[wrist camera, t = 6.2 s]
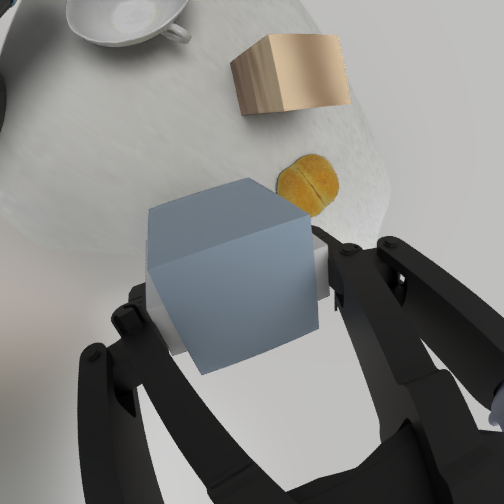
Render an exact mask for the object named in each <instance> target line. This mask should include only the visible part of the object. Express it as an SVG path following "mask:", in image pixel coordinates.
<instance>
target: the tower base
mask: <svg viewBox="0 0 504 504" xmlns="http://www.w3.org/2000/svg"><path fill="white" fill-rule="evenodd" d="M230 64H231V69H232V74H233V78H234V83H235V87H236V92H237V97H238V101H239V106H240V111H241V115H249V114H258V113H259V112H258V107H257V102H256V98H255V93H254V88H253V83H252V79H251V74H250V69H249V65H248V60H247V56H246V51H245V52H243V53H242V54H241V55H239V56H238V57H237V58H236V59H234V60H233V61H232V62H231V63H230Z"/></svg>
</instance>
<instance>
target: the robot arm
mask: <svg viewBox="0 0 504 504" xmlns="http://www.w3.org/2000/svg"><path fill="white" fill-rule="evenodd" d="M16 1H17V0H0V18H1V17H2V16H3V15H4V13H5V12H6V11H7V10H8V9H9V8H10V7H12V6H14V5H15V3H16ZM5 107H6V89H5V84H4V80H3V77H2V75H1V73H0V130H1V127H2V124H3V120H4V115H5ZM311 228H312V238H313V249H314V260H315V273H316V286H317V301H319V300H321V299H323V298H325V297H328V296H329V295H330V293H329V292H330V291H329V286H330V287H332V288H333V289H334V290H335V311H337V307H338V308H339V310H340V313H341V315H342V318H343V320H344V323H345V325H346V328H347V331H348V333H349V336H350V338H351V341H352V344H353V346H354V349H355V352H356V354H357V357H358V360H359V363H360V365H361V368H362V371H363V374H364V377H365V379H366V382H367V385H368V388H369V391H370V394H371V397H372V400H373V403H374V406H375V409H376V412H377V415H378V418H379V423H380V439H381V444H380V446H378V448H377V449H376V450H375V451H374V452H373V453H372V454H371V455H370V456H369V457H368V458H366V460H365V461H363V462H362V463H361V464H360V465H359V466H358V467H356V468H354V469H351V470H347V471H344V472H341V473H337V474H333V475H329V476H325V477H321V478H318V479H315V480H313V481H311V482H309V483H307V484H304V485H302V486H300V487H297V488H295V489H292V490H290V491H287V492H285V491H284V490H283V489H282V488H281V487H280V486H279V485H278V484H276V483H275V482H274V481H273V480H272V479H271V478H270V477H269V476H268V475H267V474H266V473H265V472H264V471H263V470H262V469H261V468H260V467H259V466H258V465H257V464H256V463H255V462H254V461H253V460H252V459H251V458H250V457H249V456H248V455H247V454H246V452H245V451H244V450H243V449H242V448H241V447H240V446H239V445H238V443H237V442H236V441H235V440H234V439H233V438H232V437H231V435H230V434H229V433H228V432H227V431H226V430H225V428H224V427H223V426H222V425H221V423H219V421H218V420H217V419H216V417H215V416H214V415H213V413H212V412H211V411H210V410H209V408H208V407H207V406H206V405H205V403H204V402H203V401H202V399H201V398H200V397H199V395H198V394H197V393H196V391H195V390H194V389H193V387H192V386H191V385H190V383H189V382H188V380H187V379H186V378H185V376H184V375H183V373H182V372H181V370H180V369H179V367H178V366H177V365H176V363H175V362H174V360H173V359H172V357H171V356H170V354H169V351H170V352H171V354H172V356H174V355H177V354H180V353H183V352H186V351H188V350H187V349H186V347H185V345H184V343H183V341H182V339H181V338H180V336H179V334H178V332H177V330H176V328H175V326H174V324H173V322H172V320H171V318H170V316H169V314H168V312H167V310H166V308H165V306H164V304H163V302H162V300H161V298H160V296H159V294H158V292H157V290H156V287H155V285H154V283H153V281H152V279H151V277H150V274H149V272H148V270H147V256H148V240H146V282H145V283H142V284H140V285H137V286H134V287H133V288H132V289H131V291H130V293H129V300H128V301H129V302H128V303H126V304H124V305H122V306H120V307H119V308H118V309H116V310H115V311H114V313H113V314H112V317H111V322H112V324H113V325H114V327H115V328H116V330H117V331H118V333H119V334H120V336H121V339H120V340H118V341H117V342H116V343H114V344H112V345H110V346H109V347H107V348H106V346H105V345H104V344H102V343H93V344H91V345H89V346H88V347H87V348H85V349H84V350H83V352H82V353H81V356H80V361H79V375H78V376H79V377H78V407H77V412H78V414H77V416H78V445H79V458H80V468H81V476H82V484H83V491H84V497H85V503H86V504H164V501H163V498H162V495H161V492H160V488H159V485H158V482H157V478H156V475H155V471H154V468H153V464H152V460H151V456H150V453H149V448H148V445H147V440H146V435H145V431H144V426H143V421H142V415H141V410H140V404H139V399H138V392H137V386H139V385H141V384H143V386H144V388H145V390H146V392H147V394H148V396H149V398H150V400H151V402H152V403H153V405H154V407H155V409H156V411H157V413H158V414H159V416H160V418H161V420H162V421H163V423H164V425H165V426H166V428H167V430H168V432H169V433H170V435H171V436H172V438H173V440H174V441H175V443H176V445H177V446H178V448H179V449H180V451H181V452H182V453H183V455H184V457H185V458H186V460H187V461H188V463H189V464H190V466H191V467H192V468H193V470H194V471H195V473H196V474H197V475H198V477H199V478H200V479H201V481H202V482H203V484H204V485H205V486H206V488H207V494H208V495H209V497H210V499H211V500H212V502H213V503H214V504H504V318H503V317H502V316H501V315H500V314H498V313H497V312H496V311H495V310H494V309H493V308H492V307H490V306H489V305H488V304H487V303H486V302H484V301H483V300H482V299H481V298H479V297H478V296H477V295H476V294H475V293H473V292H472V291H471V290H470V289H468V288H467V287H466V286H465V285H463V284H462V283H461V282H460V281H458V280H457V279H456V278H454V277H453V276H452V275H450V274H449V273H447V272H446V271H445V270H444V269H442V268H441V267H440V266H438V265H437V264H436V263H434V262H433V261H431V260H430V259H429V258H427V257H426V256H424V255H423V254H421V253H420V252H418V251H417V250H416V249H414V248H413V247H411V246H410V245H408V244H407V243H405V242H404V241H402V240H401V239H399V238H396V237H393V236H386V237H382V238H380V239H378V241H377V248H373V249H367V250H363V249H362V248H361V247H360V246H359V245H356V244H352V243H344V244H342V243H341V242H340V241H338V240H337V239H335V238H334V237H332V236H331V235H329V234H328V233H327V232H325V231H324V230H322V229H321V228H320V227H317V226H313V225H311ZM400 274H401V275H403V276H404V277H405V280H404V282H403V281H401V280H400ZM420 338H421V339H422V340H423V341H424V342H425V343H426V344H427V346H428V347H429V348H430V349H431V350H432V351H433V352H434V353H435V354H436V355H437V357H438V358H439V359H440V360H441V361H442V362H443V363H444V364H445V365H446V367H448V369H449V370H450V371H451V372H452V373H453V374H454V376H455V377H456V378H457V379H458V380H459V381H460V382H461V384H462V385H463V386H464V387H465V388H466V389H467V390H468V392H469V393H470V394H471V395H472V396H473V397H474V398H475V399H476V400H477V401H478V402H479V403H480V404H482V405H483V406H484V407H485V408H487V409H488V410H490V411H491V413H490V415H489V423H490V424H491V425H492V426H497V425H498V424H499V425H500V427H501V429H502V432H497V431H487V430H478V428H477V425H476V423H475V421H474V418H473V416H472V414H471V412H470V410H469V408H468V405H467V403H466V402H465V399H464V397H463V395H462V393H461V391H460V389H459V387H458V385H457V383H456V381H455V379H454V377H453V376H452V374H451V373H450V372H449V371H448V370H446V369H442V370H439V369H437V368H436V366H435V365H434V363H433V361H432V359H431V357H430V355H429V354H428V352H427V350H426V348H425V347H424V345H423V343H422V341H421V339H420Z"/></svg>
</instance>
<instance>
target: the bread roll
mask: <svg viewBox="0 0 504 504" xmlns="http://www.w3.org/2000/svg"><path fill="white" fill-rule="evenodd" d="M338 190H339V182H338V178H337V174H336V173H335V170H334V168H333V167H332V164H331V163H330V162H329V160H328V159H327V158H326V157H323V156H319V155H316V154H310V155H307V156H304V157H302V158H300V159H299V160H297V161H296V162H295V163H294V164H293V165H292V166H290V167H289V168H287V169H285V170H284V171H283V172H282V173H281V174H280V176H279V178H278V187H277V194H278V195H279V196H281V197H283V198H284V199H286V200H288V201H289V202H291V203H292V204H294V205H296V206H297V207H299V208H300V209H302V210H304V211H305V212H307V213H308V214H310V217H314V216H316V215H318V214H319V213H321V212H322V210H323V209H324V208H325V207H326V206H327V205H329V204H330V203H331V202H332V201H334V199H335V197H336V196H337V194H338Z"/></svg>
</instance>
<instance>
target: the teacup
mask: <svg viewBox="0 0 504 504" xmlns="http://www.w3.org/2000/svg"><path fill="white" fill-rule="evenodd" d="M188 2H189V0H67V4H66V9H65V11H66V19H67V22H68V25H69V27H70V28H71V29H72V31H73V32H74V33H75V34H77V35H78V36H80V37H81V38H83V39H85V40H86V41H89V42H91V43H93V44H96V45H100V46H106V47H123V46H130V45H135V44H138V43H141V42H144V41H147V40H149V39H151V38H153V37H155V36H156V35H158V34H162V35H164V36H165V37H166V38H168V39H170V40H174V41H178V42H181V43H184V44H187V43H188V42H189V41H190V39H191V35H190V34H189V33H188V32H187V31H186V30H185V29H183V28H182V27H180V26H179V25H176V24H174V21H175V20H176V19H177V18H178V17H179V15H180V14H181V13H182V12H183V10H184V9H185V8H186V6H187V4H188ZM166 30H172V31H173V32H175V33H176V34H178V35H179V36H180V37H178V36H176V35H174V34H172V33H169V32H167V31H166Z"/></svg>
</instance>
